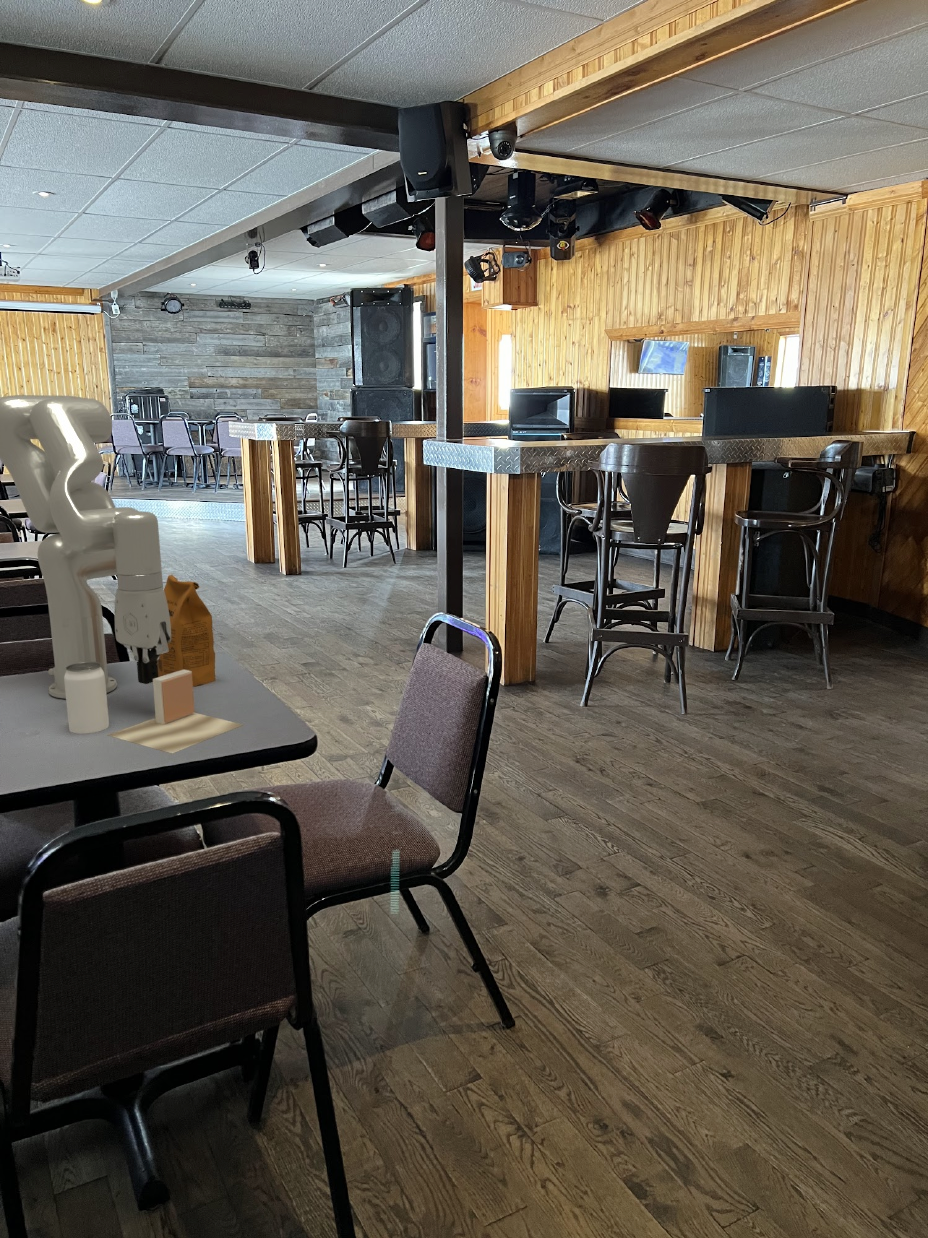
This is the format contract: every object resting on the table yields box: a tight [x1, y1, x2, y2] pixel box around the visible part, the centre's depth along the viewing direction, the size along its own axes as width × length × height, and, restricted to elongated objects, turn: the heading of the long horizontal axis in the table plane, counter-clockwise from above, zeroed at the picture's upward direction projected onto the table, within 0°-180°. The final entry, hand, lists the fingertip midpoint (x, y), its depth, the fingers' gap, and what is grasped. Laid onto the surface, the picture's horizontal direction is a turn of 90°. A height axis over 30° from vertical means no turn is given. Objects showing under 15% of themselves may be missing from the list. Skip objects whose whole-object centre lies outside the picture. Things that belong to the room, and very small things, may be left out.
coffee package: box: [157, 574, 216, 688], centre depth 186 cm, size 10×12×22 cm
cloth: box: [107, 712, 244, 755], centre depth 159 cm, size 16×16×1 cm
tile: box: [152, 670, 196, 724], centre depth 164 cm, size 2×7×8 cm, turn 148°
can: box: [64, 662, 110, 735], centre depth 159 cm, size 6×6×12 cm
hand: (148, 681), depth 167 cm, fingers closed
